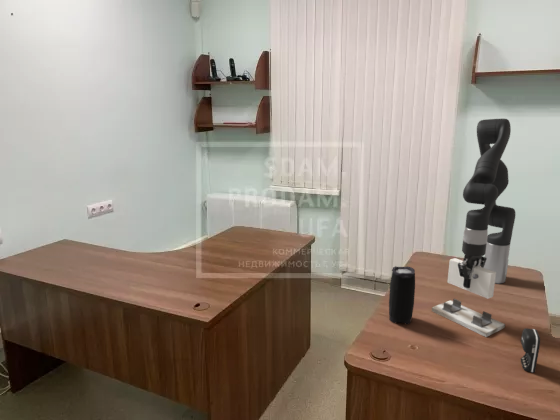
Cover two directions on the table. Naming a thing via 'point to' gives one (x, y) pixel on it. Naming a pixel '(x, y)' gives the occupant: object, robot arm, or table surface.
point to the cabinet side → (468, 317)
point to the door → (473, 279)
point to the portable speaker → (401, 294)
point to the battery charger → (530, 349)
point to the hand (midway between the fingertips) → (469, 286)
